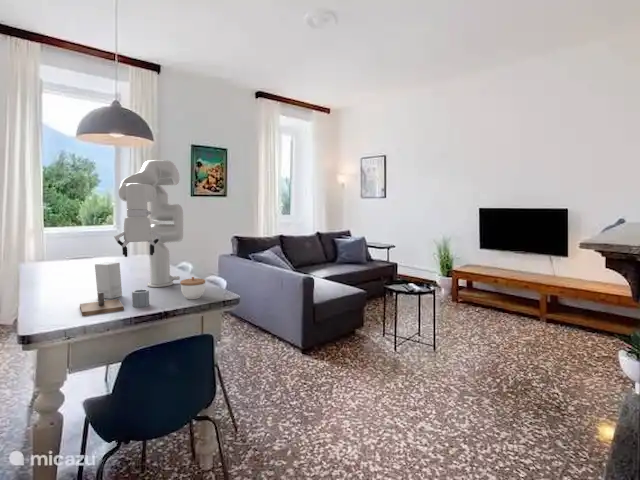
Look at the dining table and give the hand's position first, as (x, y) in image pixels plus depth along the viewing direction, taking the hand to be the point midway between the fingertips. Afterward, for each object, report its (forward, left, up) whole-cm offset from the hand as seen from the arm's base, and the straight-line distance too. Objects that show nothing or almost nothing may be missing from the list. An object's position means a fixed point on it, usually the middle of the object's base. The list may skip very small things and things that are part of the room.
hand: (138, 255), depth 155 cm
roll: (0, 0, -21) cm, 21 cm away
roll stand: (+14, -3, -21) cm, 25 cm away
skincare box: (+9, -23, -21) cm, 33 cm away
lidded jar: (-22, -1, -21) cm, 31 cm away
